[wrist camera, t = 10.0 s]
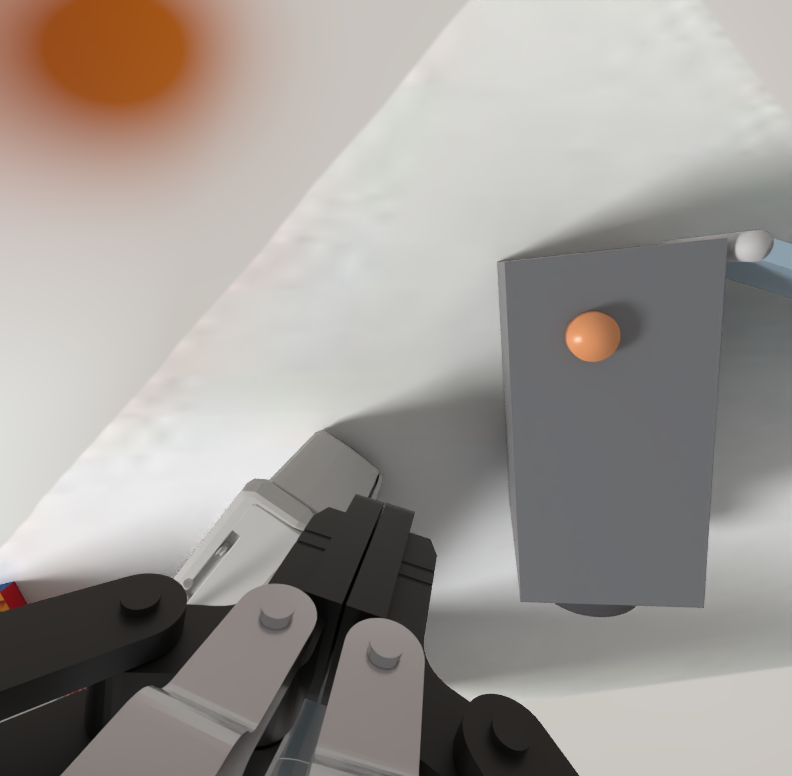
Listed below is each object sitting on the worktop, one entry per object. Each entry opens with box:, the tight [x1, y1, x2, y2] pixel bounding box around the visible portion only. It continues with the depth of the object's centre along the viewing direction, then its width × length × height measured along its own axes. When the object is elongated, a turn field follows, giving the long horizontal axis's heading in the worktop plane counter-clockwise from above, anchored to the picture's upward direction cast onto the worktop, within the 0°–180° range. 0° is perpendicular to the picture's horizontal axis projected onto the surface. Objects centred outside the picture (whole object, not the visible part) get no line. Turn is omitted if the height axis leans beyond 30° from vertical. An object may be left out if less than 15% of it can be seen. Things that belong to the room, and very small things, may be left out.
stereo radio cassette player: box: [173, 430, 383, 606], centre depth 34 cm, size 21×8×20 cm, turn 142°
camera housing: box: [497, 238, 728, 617], centre depth 30 cm, size 23×10×13 cm, turn 6°
